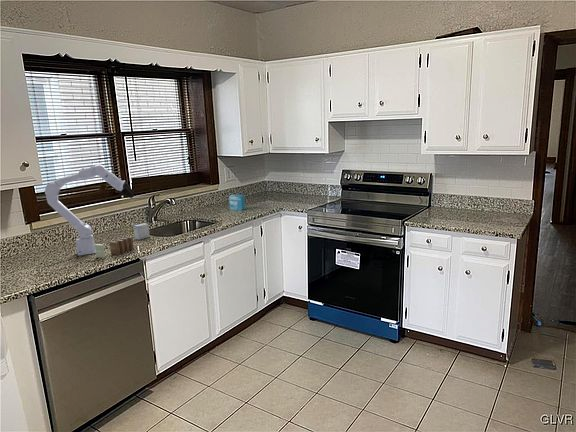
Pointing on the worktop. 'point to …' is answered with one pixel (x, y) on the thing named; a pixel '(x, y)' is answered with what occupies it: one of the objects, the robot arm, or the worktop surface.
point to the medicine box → (141, 231)
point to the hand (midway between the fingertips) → (133, 195)
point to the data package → (237, 202)
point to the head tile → (130, 242)
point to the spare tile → (99, 250)
